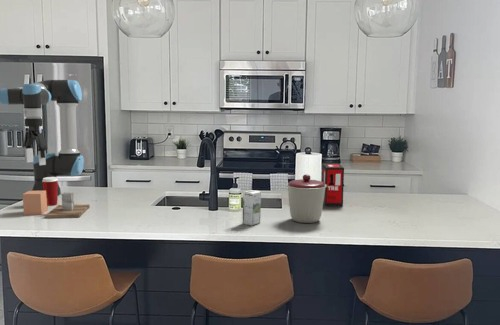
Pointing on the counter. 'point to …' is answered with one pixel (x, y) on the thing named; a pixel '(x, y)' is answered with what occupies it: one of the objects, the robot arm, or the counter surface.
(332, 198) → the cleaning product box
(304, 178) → the canister
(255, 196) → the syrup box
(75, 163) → the robot arm
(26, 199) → the peach bevelled cube
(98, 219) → the counter surface
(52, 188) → the paper cup
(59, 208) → the wooden base with block
